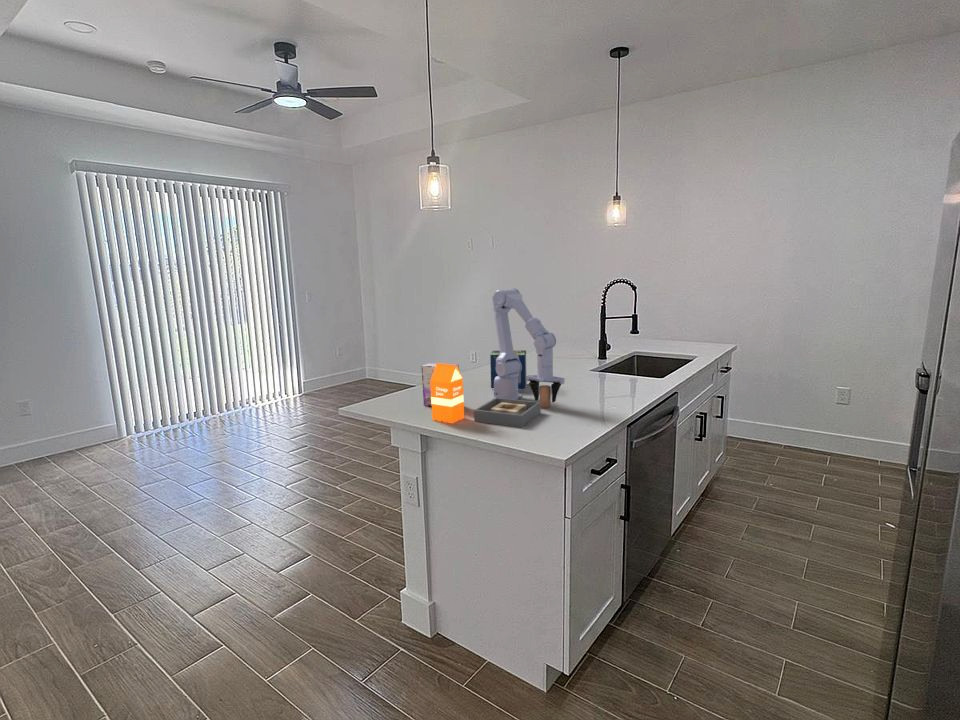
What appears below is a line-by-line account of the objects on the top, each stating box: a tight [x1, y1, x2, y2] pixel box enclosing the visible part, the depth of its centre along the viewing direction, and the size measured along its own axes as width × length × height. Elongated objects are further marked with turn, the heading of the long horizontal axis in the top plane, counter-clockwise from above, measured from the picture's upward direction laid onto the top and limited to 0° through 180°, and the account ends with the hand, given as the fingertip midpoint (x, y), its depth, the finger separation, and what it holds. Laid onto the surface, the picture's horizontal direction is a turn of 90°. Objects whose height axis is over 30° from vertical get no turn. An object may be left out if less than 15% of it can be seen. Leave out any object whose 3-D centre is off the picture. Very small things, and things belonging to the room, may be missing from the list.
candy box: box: [421, 362, 460, 407], centre depth 200 cm, size 14×6×16 cm, turn 65°
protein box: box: [489, 349, 528, 390], centre depth 228 cm, size 10×15×16 cm
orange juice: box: [430, 362, 465, 424], centre depth 182 cm, size 8×9×20 cm
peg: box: [539, 384, 552, 409], centre depth 195 cm, size 4×4×8 cm
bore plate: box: [490, 402, 527, 415], centre depth 187 cm, size 10×10×2 cm
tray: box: [473, 398, 541, 428], centre depth 184 cm, size 18×18×4 cm
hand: (545, 400), depth 195 cm, fingers open, 6 cm apart
